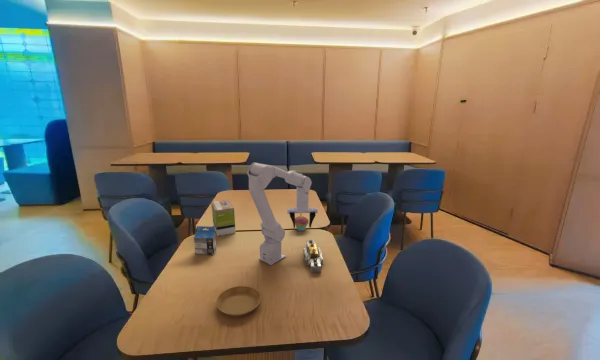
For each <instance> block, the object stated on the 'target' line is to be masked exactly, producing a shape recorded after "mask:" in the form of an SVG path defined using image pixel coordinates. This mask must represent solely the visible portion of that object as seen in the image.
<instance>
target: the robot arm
mask: <svg viewBox="0 0 600 360" xmlns="http://www.w3.org/2000/svg"><path fill="white" fill-rule="evenodd" d="M246 174H247V176H248V191H249V194H250V196H251V199H252V201H253V203H254V205H255V207H256V210H257V212H258V215H259V217H260V220H261V223H260V227H261V231H260V232H261V234H262V235H263V237H264V241H263V242H262V243H260V246H259V258H258V260H260V261H262V262H264V263H266V264H268V265H270V266H272V265H274V264H277V262H279V261H281V260H283V259H284V258H286V257H287V255H285V254H282V241H283V239H285V235H286V230H285V228H283V227H282V225H281V223H279V222H278V221H277V220H276V217H275V216H274V213H273V210H272V208H271V205H270V203H269V201H268V197H267V195H266V192H265V189H266V188H267V187H268V185H269V184H270V183H271V182H272V180H273V179H274V178H276V177H278V178H281V179H284V181H285V183H287V184H289V185H293V186H295V187H296V207H291V208H287V210H286V214H287V215H288V214H289V217H290V219H291V222H292V225H293V229H296V225H295V218H296V214H300V213H302V214H309V219H308V222H309V223H308V226H309V228H312V224H313V221H314V219H315V217H316V214H318V212H319V210H318V207H309V200H310V199H309V194H310V191H311V186H312V183H313V181H312V179H311V178H310V177H309V176H306V175H304V174H303V173H298V172H297V170H294V169H292V170H288V171H286V170H283V169H282V168H279V167H277V166H274V165H270V164H264V163H260V162H252V163H251V164H250V165H249V167H248V170H247V171H246Z"/></svg>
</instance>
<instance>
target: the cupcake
mask: <svg viewBox="0 0 600 360" xmlns="http://www.w3.org/2000/svg"><path fill="white" fill-rule="evenodd" d="M302 214H303V213H299V215H300V216H297V217H296V216H295V229H296V230H297V231H300V232H302V231H306V228H307V225H309V219H308V217H305V216H302Z"/></svg>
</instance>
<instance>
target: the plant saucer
mask: <svg viewBox="0 0 600 360" xmlns="http://www.w3.org/2000/svg"><path fill="white" fill-rule="evenodd" d="M261 299H262V297H261V294H260V292H259V291H258V290H257V289H256V288H254V287H251V286H246V285H237V286H233V287H230V288H227V289H225V290H224V291H222V292H221V293H220V294H219V295H218V297H217V298H216V303H215V304H216V307H217V309H218V310H219V312H221V313H223V314H224V315H226V316H230V317H242V316H245V315H247V314H249V313H251V312H253V311H254V310H256V308H257V307H258V306H259V304H260V303H261Z"/></svg>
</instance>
